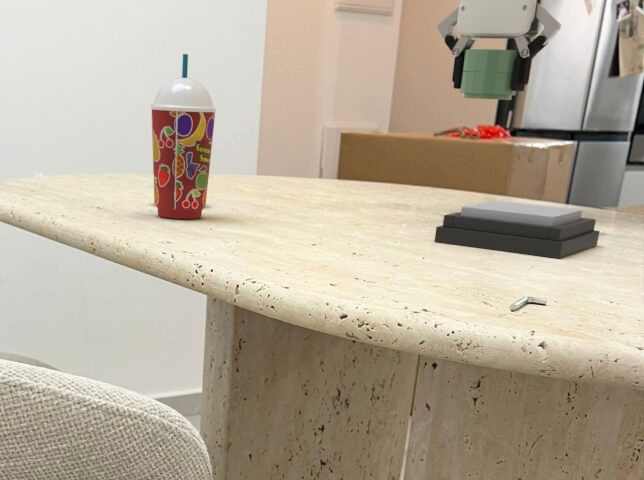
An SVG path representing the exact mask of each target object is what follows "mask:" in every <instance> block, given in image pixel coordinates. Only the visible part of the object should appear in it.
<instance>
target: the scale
mask: <svg viewBox="0 0 644 480" xmlns="http://www.w3.org/2000/svg"><path fill="white" fill-rule="evenodd" d="M460 215H461V211H460V212H454V213H447V214H444V215H443V220H442V221H443V222H442V225H438V226H435V227H436V228H435V235H434V243H439V244H440V243H442V244H448V245H454V246H455V245H456V246H463V247H470V248H478V249H485V250H492V251H500V252H507V253H515V254H522V255H529V256H538V257H544V258H550V259H551V258H552V259H558V260H559V259H562V258H565V257H567V256H571V255H573V254H576V253H579V252H580V253H581V252H582V251H585V250H588V249H590V248H594V247H597V246H598V241H599V236H600V230H595V226H596V222H597V219H596V218H588V217H587V218H586V217H581V219H580V220H578V221H574V222H570V223H566V224H563V225H559V226H555V227H552V226H544V225H535V224H527V223H518V222H510V221H501V220H492V219H484V218H475V217H467V216H460Z"/></svg>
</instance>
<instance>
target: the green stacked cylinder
mask: <svg viewBox="0 0 644 480" xmlns="http://www.w3.org/2000/svg"><path fill="white" fill-rule="evenodd" d="M516 58H519V50H515V49H513V50H512V49H496V48H495V49H493V48H491V49H490V48H472V49H468V50H466V51H465V58H464V66H463V73H462V81H461V89H459V94H462V98H463V99H477V100H481V99H482V100H500V101H512V97H513V96H516V95H517V91H512V90H511V82H512V75H513V69H514V62H515V59H516Z"/></svg>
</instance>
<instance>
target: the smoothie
mask: <svg viewBox="0 0 644 480" xmlns="http://www.w3.org/2000/svg"><path fill="white" fill-rule="evenodd" d="M188 64H189V54H188V53H182V66H181V69H182V70H181V77H176V78H174V79H172V80H170V81H168V82H166V83H165V84H164V85H163V86H162V87H161V88H160V89H159V91H158V92H157V94H156V97H155V98H154V101H153V104H152V105H150V110H151V133H152V134H151V137H152V138H151V139H152V142H151V143H152V167H153V169H152V170H153V171H152V172H153V198H154V199H153V201H154V202H153V203H154V207H156V208H157V214H158V216H159V217H161V218H164V219H170V220H197V219H200V218H201V217H202V214H203V209H205V208H206V207H207V206H206V205H207V195H208V186H209V177H210V168H211V167H210V166H211V156H212V147H213V137H214V129H215V128H214V127H215V117H216V112H217V108H216V107H214V103H213V100H212V97H211V95H210V93H209V91H208V90H207V88H206V87H205V86H204V85H203V84H202V83H200V82H199V81H197V80H195V79H193V78H192V77H188V69H189V65H188ZM199 217H200V218H199ZM196 218H197V219H196Z"/></svg>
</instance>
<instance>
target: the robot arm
mask: <svg viewBox="0 0 644 480" xmlns="http://www.w3.org/2000/svg"><path fill="white" fill-rule="evenodd" d="M544 6H545V0H460V1H459V6H458V7H457V8H456V9H455V10H454V11H452V12H451V13H450V14H449V15H447V16H446V17H445V18H444V19H443V20H442V21H440V22H439V23H438V24H437V30H438V32H439V34H440V35H441V37H442V39H443V40H444V43H445V45H446V46H447V48H448V49H449V51H450V52H451V55H452V57H454V61H453V69H452V77H451V82H452V83H453V89H454V90H455V89H457V90H460V89H461V81H462V73H463V66H464V58H465V51H466V50H468V49H473V47H474V46H475V44H476V43H477V41H478V39H512V40H513V39H514V41H515V45H516V48H517V51H519V58H516V59H515V62H514V69H513V75H512V82H511V90H512V91H516V92H524V91H525V86H527V85H528V84H529V81H530V73H531V68H532V62H533V59H535V58H536V56H537V55H538V53H539V52H540V51H542V50H543V49H544V48H545V47H546V46H547V45H548V44H549V42H550V41H551V40H552V39H553V38H554V37H555V35H557V33H558V32H559V31H560V30H561V27H562V24H561V23H560V22H559V21H558V20H557V19H556V17H554V16H553V15H552V14H551V12H549V11H548V10H547V9H546V8H545V7H544ZM542 25H543V29H542V31H541V28H542ZM455 26H456V31H457V33H458V34H460V37H459V38H458V36H456V34H455V32H454V27H455ZM540 32H541V33H540ZM534 37H535V38H534Z"/></svg>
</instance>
